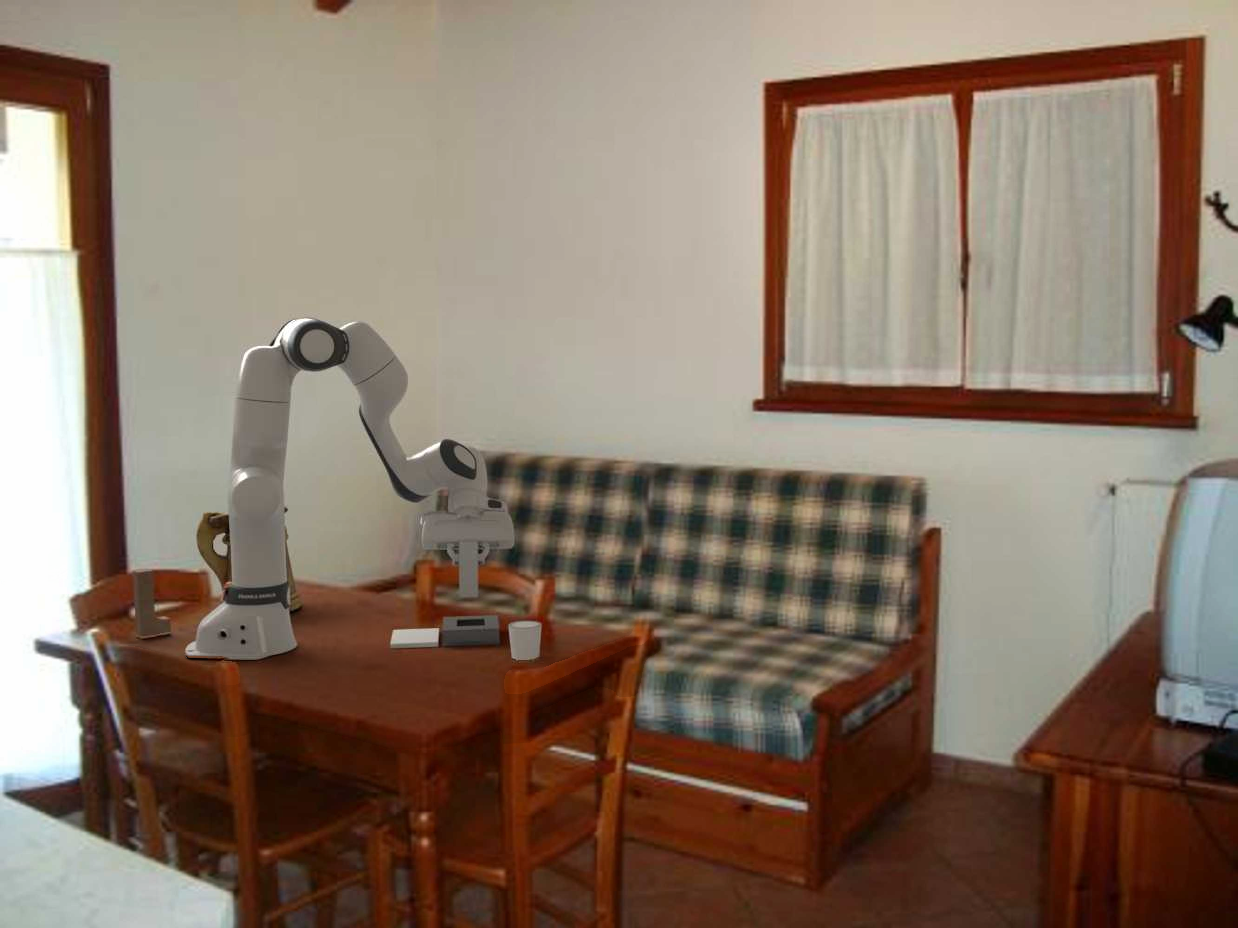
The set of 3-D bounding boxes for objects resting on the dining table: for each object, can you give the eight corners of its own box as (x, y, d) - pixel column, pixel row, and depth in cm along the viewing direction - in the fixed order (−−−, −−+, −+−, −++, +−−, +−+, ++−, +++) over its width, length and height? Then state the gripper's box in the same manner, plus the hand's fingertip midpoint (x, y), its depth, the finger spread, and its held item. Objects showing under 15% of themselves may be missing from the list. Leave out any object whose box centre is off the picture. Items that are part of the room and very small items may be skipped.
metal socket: (442, 646, 262) (442, 630, 261) (443, 632, 274) (443, 616, 273) (499, 644, 263) (499, 628, 263) (497, 630, 275) (497, 615, 275)
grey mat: (390, 648, 260) (390, 643, 260) (393, 634, 272) (393, 629, 272) (438, 646, 262) (438, 641, 262) (439, 632, 273) (439, 628, 273)
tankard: (311, 612, 293) (307, 509, 290) (210, 625, 281) (205, 517, 278) (288, 598, 308) (284, 499, 305) (191, 610, 296) (186, 507, 293)
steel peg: (459, 597, 265) (459, 542, 264) (459, 593, 269) (459, 539, 268) (478, 597, 266) (477, 542, 264) (477, 593, 269) (477, 539, 268)
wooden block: (141, 639, 269) (137, 572, 267) (135, 637, 271) (132, 570, 269) (171, 634, 273) (167, 568, 271) (165, 631, 275) (162, 566, 274)
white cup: (548, 655, 254) (548, 622, 253) (528, 663, 248) (528, 629, 248) (522, 651, 258) (521, 618, 257) (501, 658, 252) (501, 625, 251)
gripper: (420, 503, 271) (419, 555, 262) (513, 502, 273) (515, 554, 265) (421, 520, 275) (420, 571, 267) (512, 519, 278) (514, 570, 270)
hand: (468, 563), depth 266 cm, fingers closed on steel peg, 4 cm apart
